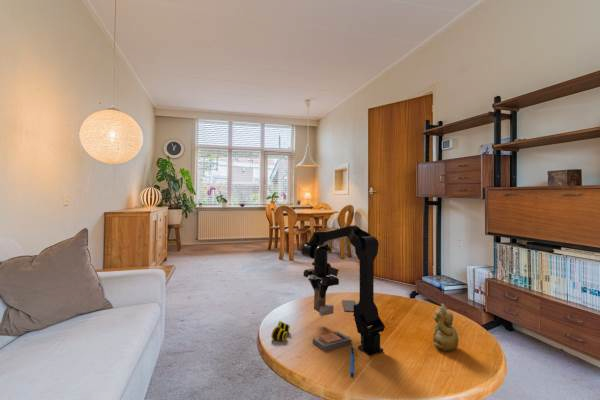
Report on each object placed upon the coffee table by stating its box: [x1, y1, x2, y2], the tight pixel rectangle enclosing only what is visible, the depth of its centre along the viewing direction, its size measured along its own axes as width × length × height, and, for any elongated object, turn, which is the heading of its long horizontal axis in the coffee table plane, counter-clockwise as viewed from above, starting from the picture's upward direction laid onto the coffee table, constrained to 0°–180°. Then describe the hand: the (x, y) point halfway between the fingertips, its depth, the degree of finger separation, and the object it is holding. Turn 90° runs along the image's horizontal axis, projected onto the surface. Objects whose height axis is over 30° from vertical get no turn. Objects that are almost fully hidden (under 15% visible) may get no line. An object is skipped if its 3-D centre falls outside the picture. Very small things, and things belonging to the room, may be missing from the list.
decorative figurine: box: [433, 303, 460, 353], centre depth 109 cm, size 10×8×15 cm
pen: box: [350, 346, 355, 378], centre depth 99 cm, size 1×19×1 cm, turn 170°
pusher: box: [313, 288, 335, 317], centre depth 128 cm, size 8×6×9 cm
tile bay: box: [312, 331, 352, 352], centre depth 112 cm, size 8×12×2 cm, turn 120°
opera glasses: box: [270, 320, 291, 342], centre depth 117 cm, size 10×5×5 cm, turn 168°
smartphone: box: [341, 299, 357, 313], centre depth 151 cm, size 7×1×15 cm
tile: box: [318, 332, 342, 345], centre depth 113 cm, size 6×6×2 cm
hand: (320, 296), depth 130 cm, fingers closed on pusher, 3 cm apart
